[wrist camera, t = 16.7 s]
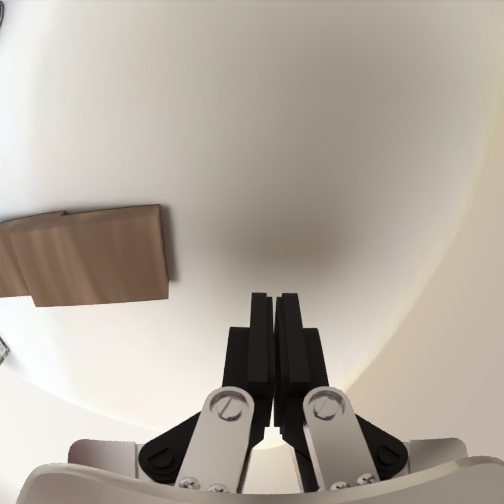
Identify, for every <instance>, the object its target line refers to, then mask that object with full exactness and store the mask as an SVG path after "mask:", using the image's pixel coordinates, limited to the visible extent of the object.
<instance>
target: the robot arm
mask: <svg viewBox="0 0 504 504" xmlns="http://www.w3.org/2000/svg"><path fill="white" fill-rule="evenodd" d="M273 399H274V427H280V434H282V439H283V440H284V441H286V442H287V443H288V444H289V445H291V452H292V457H293V461H294V465H295V470H296V474H297V478H298V483H299V487H300V491H301V493H298V494H267V495H265V494H242V493H243V489H244V485H245V481H246V477H247V472H248V468H249V464H250V459H251V454H252V450H253V447H254V446H255V445H257V444H258V443H259V442H261V441H262V440H263V439H264V430H265V427H269V426H270V418H271V411H272V403H273ZM16 504H504V462H503V461H502V460H501V459H499V458H496V457H490V456H473V457H467V449H466V446H465V444H464V443H463V441H461V440H459V439H458V438H443V439H428V440H409V441H408V442H401V441H400V440H398V439H397V438H395V437H393V436H391V435H390V434H388V433H386V432H385V431H382V430H381V429H380V428H378V427H376V426H374V425H372V424H371V423H370V422H368V421H366V420H365V419H363V418H361V417H360V416H358V415H357V414H355V413H354V411H353V408H352V405H351V403H350V401H349V399H348V397H347V396H346V394H344V393H343V392H342V391H341V390H339V389H337V388H334V387H329V383H328V377H327V372H326V367H325V361H324V356H323V351H322V346H321V341H320V336H319V332H318V329H317V328H303V325H302V319H301V312H300V306H299V300H298V294H297V293H282V297H277V298H276V311H275V325H274V329H273V303H272V297H267V294H266V293H252V299H251V317H250V328H248V327H230V330H229V337H228V344H227V352H226V360H225V367H224V375H223V383H222V387H221V388H218V389H216V390H214V391H213V392H211V393H210V394H209V395H208V397H207V398H206V400H205V402H204V405H203V408H202V411H200V412H199V413H197V414H195V415H194V416H192V417H190V418H189V419H187V420H186V421H184V422H182V423H181V424H179V425H177V426H175V427H174V428H172V429H170V430H169V431H167V432H165V433H163V434H162V435H160V436H158V437H156V438H155V439H153V440H151V441H149V442H148V443H146V444H136V443H135V442H118V441H100V440H89V439H82V440H78V441H76V442H74V443H73V444H72V446H71V447H70V450H69V453H68V463H51V464H45V465H41V466H39V467H37V468H36V469H34V470H33V471H32V472H31V474H30V475H29V476H28V478H27V479H26V481H25V483H24V485H23V487H22V489H21V491H20V494H19V497H18V499H17V502H16Z"/></svg>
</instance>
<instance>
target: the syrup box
mask: <svg viewBox="0 0 504 504" xmlns="http://www.w3.org/2000/svg"><path fill="white" fill-rule="evenodd" d="M9 352H10V351H9V350H8V348H7V347H6V346H5V344H4V343H3V341H2V340H1V339H0V365H1V364H2V362H3V361H4V359H5V358H6V356H7V355H8V353H9Z"/></svg>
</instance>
